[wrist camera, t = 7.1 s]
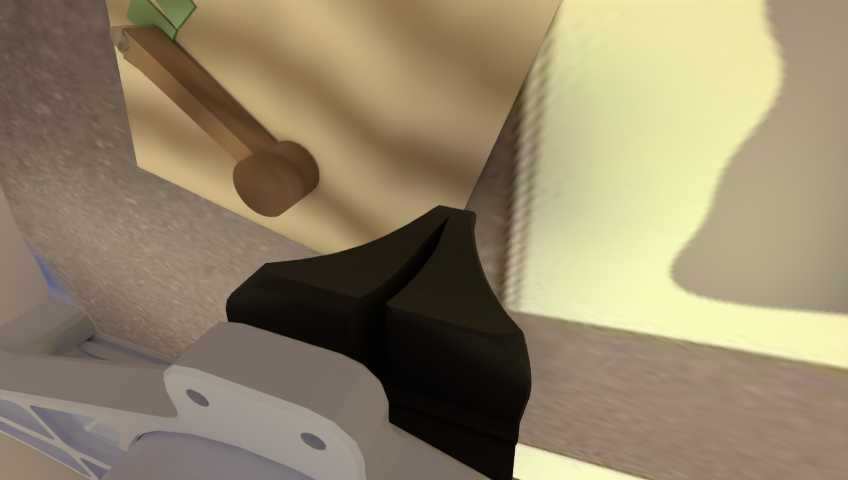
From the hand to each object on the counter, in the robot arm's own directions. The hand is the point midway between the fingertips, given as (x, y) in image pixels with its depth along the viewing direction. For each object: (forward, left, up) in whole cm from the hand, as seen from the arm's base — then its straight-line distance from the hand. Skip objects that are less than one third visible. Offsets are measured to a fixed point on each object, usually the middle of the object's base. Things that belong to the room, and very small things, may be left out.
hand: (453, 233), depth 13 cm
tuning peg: (-4, +15, -8) cm, 18 cm away
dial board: (-1, +12, -9) cm, 15 cm away
